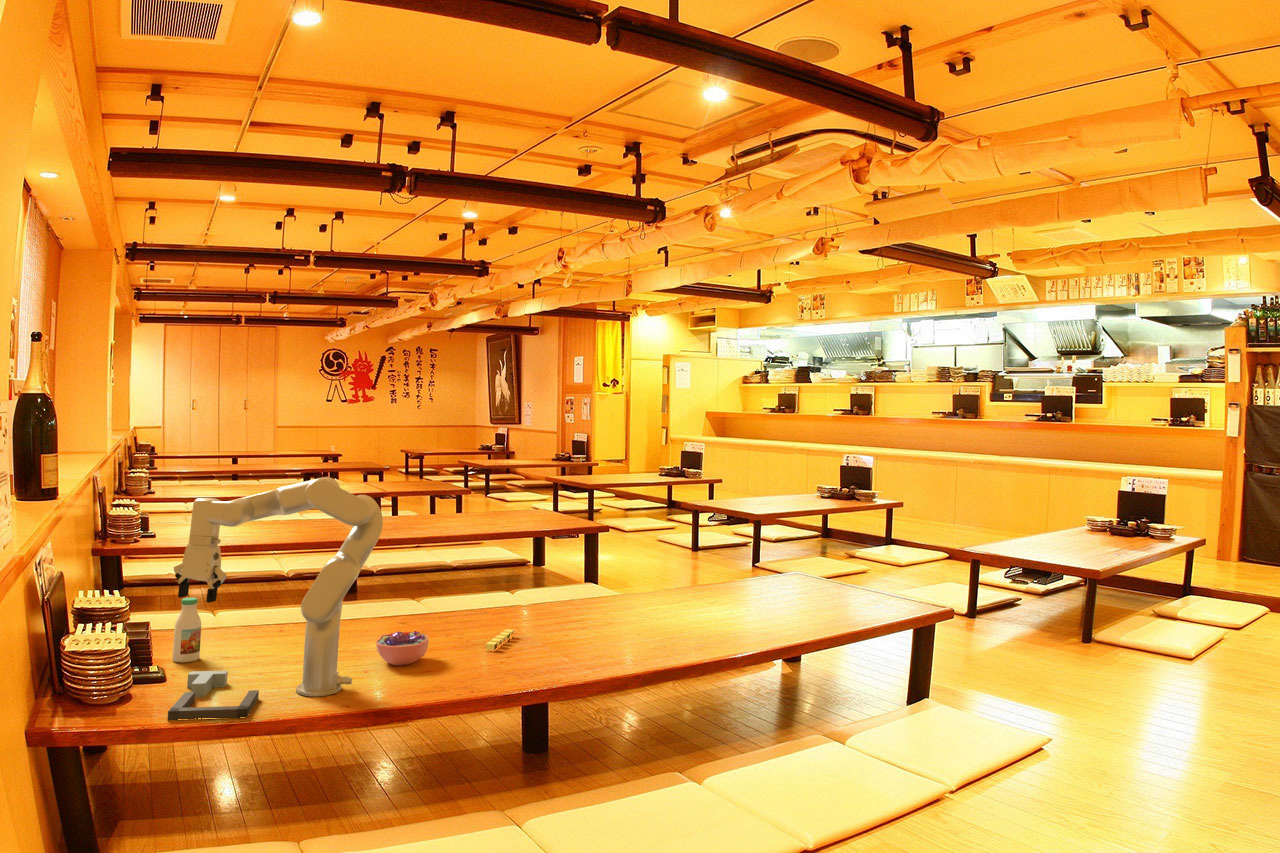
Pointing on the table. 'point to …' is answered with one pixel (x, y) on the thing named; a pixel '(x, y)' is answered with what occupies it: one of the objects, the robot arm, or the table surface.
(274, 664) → the table surface
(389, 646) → the cell model
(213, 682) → the t block
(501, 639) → the yellow segmented bar
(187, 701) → the corral
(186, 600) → the milk bottle
